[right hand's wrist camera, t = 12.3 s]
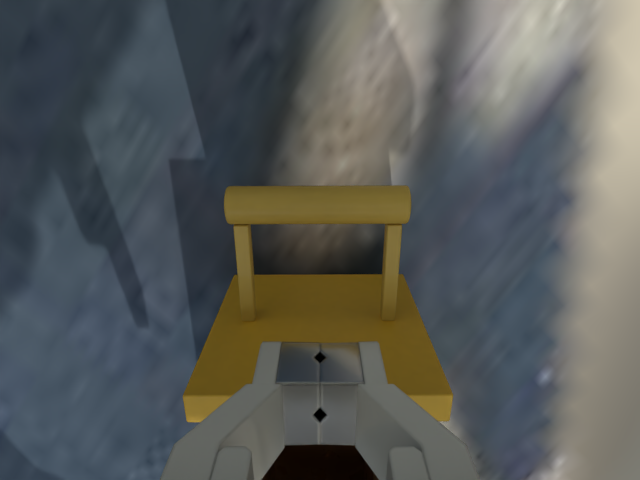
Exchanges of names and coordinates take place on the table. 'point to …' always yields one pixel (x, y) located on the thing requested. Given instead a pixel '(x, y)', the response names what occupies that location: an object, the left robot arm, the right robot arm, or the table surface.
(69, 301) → the table surface
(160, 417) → the table surface
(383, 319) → the yellow drawer
